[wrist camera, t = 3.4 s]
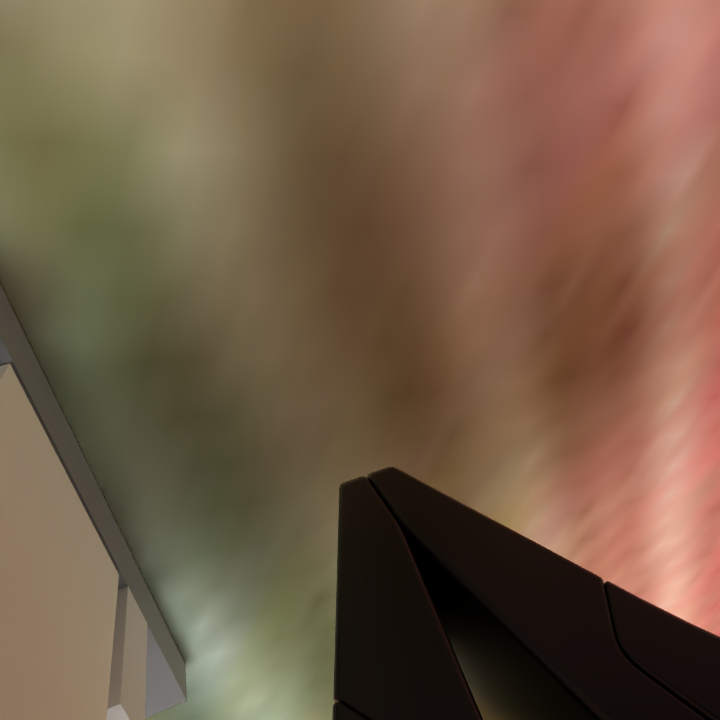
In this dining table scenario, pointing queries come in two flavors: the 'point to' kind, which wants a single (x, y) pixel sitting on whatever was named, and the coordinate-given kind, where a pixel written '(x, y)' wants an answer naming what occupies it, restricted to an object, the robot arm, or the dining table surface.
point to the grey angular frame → (134, 601)
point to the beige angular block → (48, 579)
